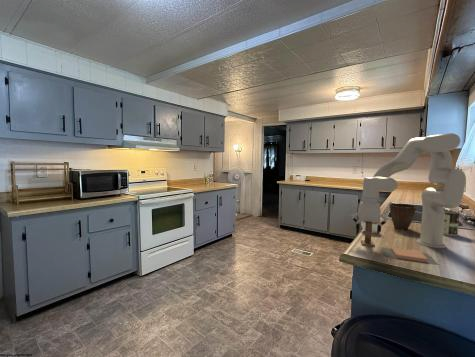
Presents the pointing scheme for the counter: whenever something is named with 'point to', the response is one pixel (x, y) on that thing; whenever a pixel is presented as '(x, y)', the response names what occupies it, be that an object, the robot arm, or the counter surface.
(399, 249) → the tile
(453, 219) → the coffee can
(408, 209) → the plant pot
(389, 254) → the mat
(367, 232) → the wooden pedestal stand
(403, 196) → the counter surface
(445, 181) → the robot arm
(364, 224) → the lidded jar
